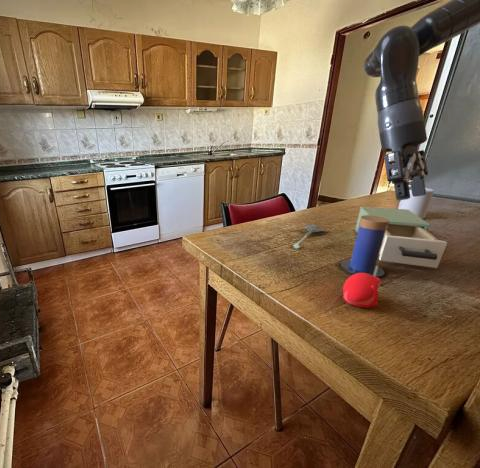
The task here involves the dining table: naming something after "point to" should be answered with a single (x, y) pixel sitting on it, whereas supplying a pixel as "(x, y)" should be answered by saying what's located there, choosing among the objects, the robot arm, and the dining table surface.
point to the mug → (417, 203)
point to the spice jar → (368, 242)
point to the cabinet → (394, 216)
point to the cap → (361, 290)
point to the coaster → (377, 271)
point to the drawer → (411, 246)
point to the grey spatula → (311, 229)
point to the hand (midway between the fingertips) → (411, 197)
